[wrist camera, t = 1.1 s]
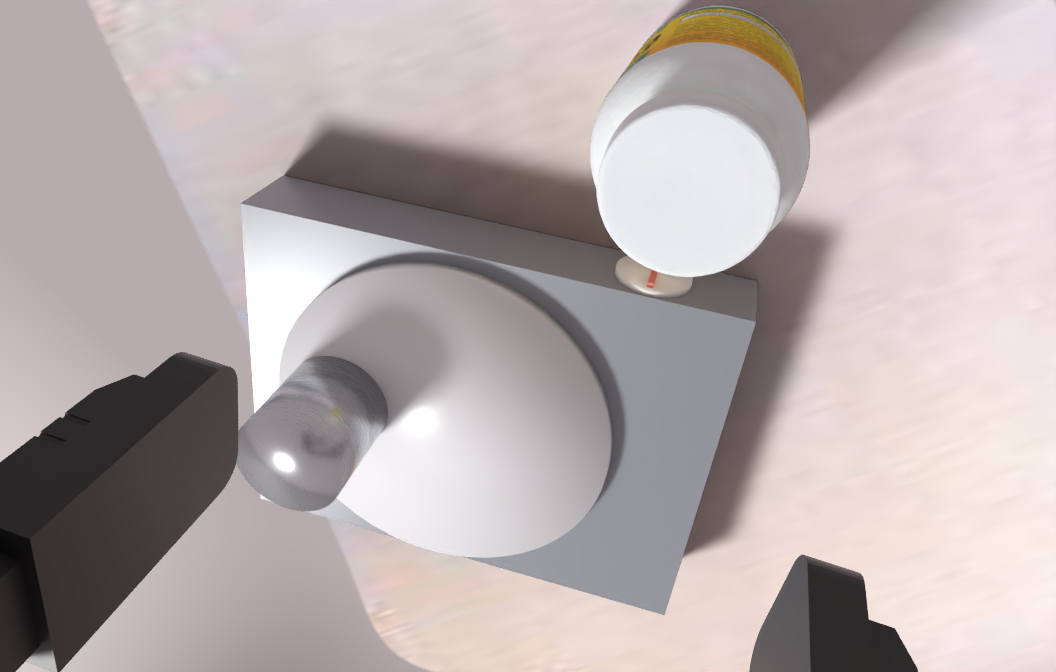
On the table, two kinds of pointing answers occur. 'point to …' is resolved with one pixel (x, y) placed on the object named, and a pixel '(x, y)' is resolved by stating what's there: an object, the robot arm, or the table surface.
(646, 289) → the scale
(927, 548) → the table surface
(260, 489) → the cylinder
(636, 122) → the supplement bottle
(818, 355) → the table surface
